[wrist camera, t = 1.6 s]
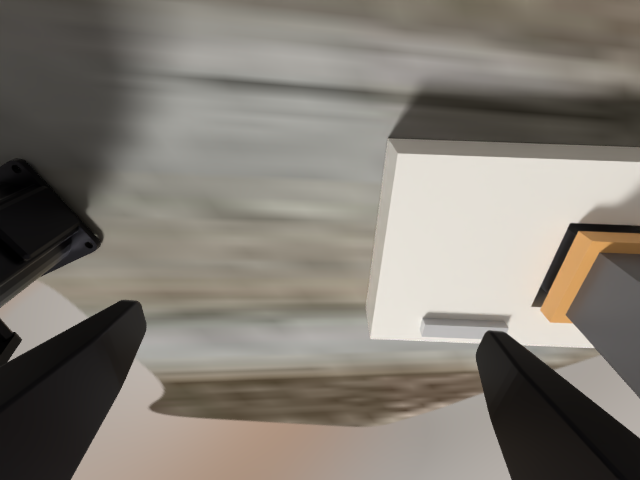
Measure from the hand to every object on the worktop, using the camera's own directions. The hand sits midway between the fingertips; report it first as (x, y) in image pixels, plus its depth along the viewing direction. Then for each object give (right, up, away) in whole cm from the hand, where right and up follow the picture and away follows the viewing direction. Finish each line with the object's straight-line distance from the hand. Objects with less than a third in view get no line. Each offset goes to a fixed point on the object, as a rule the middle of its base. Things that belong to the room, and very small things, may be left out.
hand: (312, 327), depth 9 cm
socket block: (+12, +2, +12) cm, 17 cm away
